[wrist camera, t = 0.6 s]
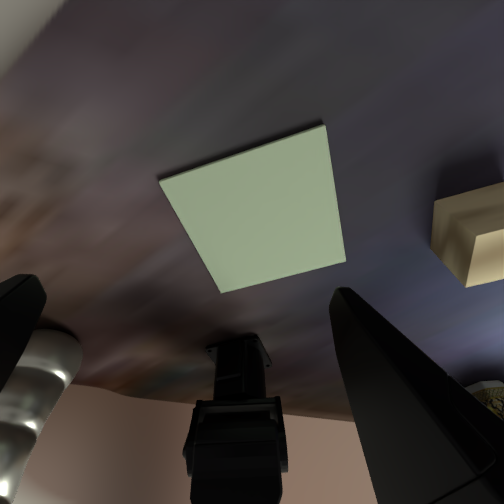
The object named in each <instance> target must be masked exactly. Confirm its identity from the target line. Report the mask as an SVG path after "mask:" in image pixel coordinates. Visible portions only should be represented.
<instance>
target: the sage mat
mask: <svg viewBox="0 0 504 504" xmlns="http://www.w3.org/2000/svg"><path fill="white" fill-rule="evenodd" d="M159 184H160V186H161V187H162V189H163V191H164V193H165V194H166V196H167V198H168V200H169V202H170V203H171V205H172V207H173V209H174V210H175V212H176V214H177V216H178V217H179V219H180V221H181V223H182V224H183V226H184V228H185V230H186V232H187V233H188V235H189V237H190V239H191V240H192V242H193V244H194V246H195V247H196V249H197V251H198V253H199V255H200V256H201V258H202V260H203V262H204V263H205V265H206V267H207V269H208V270H209V272H210V274H211V276H212V278H213V279H214V281H215V283H216V285H217V286H218V288H219V290H220V292H221V293H224V292H228V291H232V290H236V289H240V288H244V287H248V286H251V285H255V284H259V283H263V282H267V281H271V280H275V279H279V278H283V277H286V276H290V275H294V274H298V273H302V272H306V271H310V270H314V269H318V268H321V267H325V266H329V265H333V264H337V263H341V262H345V261H346V258H345V252H344V245H343V238H342V232H341V225H340V219H339V212H338V205H337V199H336V192H335V186H334V179H333V173H332V166H331V159H330V153H329V146H328V140H327V133H326V127H325V125H324V124H322V125H319V126H316V127H313V128H310V129H308V130H305V131H302V132H299V133H296V134H293V135H290V136H287V137H284V138H281V139H278V140H275V141H273V142H270V143H267V144H264V145H261V146H258V147H255V148H252V149H249V150H246V151H243V152H240V153H237V154H235V155H232V156H229V157H226V158H223V159H220V160H217V161H214V162H211V163H208V164H205V165H202V166H199V167H197V168H194V169H191V170H188V171H185V172H182V173H179V174H176V175H173V176H170V177H167V178H164V179H161V180H160V181H159Z"/></svg>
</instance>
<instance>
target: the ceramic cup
mask: <svg viewBox="0 0 504 504" xmlns="http://www.w3.org/2000/svg"><path fill="white" fill-rule="evenodd" d="M465 389H466V390H467V391H468V392H470V393H471V394H472V395H473V396H474V397H476V398H477V399H478V400H479V401H480V402H481V403H483V404H484V405H485V406H486V407H487V408H489V409H490V410H491V411H492V412H494V413H495V414H496V415H497V416H499V417H500V418H501V419H502V420H504V384H503V383H502V382H501V381H499V380H495V381H480V382H478V383H475V384H473V385H470V386H468V387H465Z"/></svg>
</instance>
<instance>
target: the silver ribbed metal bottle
mask: <svg viewBox="0 0 504 504" xmlns="http://www.w3.org/2000/svg"><path fill="white" fill-rule="evenodd" d="M82 358H83V351H82V347H81V344H80V343H79V342H78V341H77V340H76V339H75V338H74V337H72V336H70V335H69V334H66V333H64V332H61V331H58V330H53V329H37V330H34V331H33V333H32V335H31V338H30V340H29V342H28V344H27V346H26V348H25V350H24V352H23V354H22V356H21V358H20V360H19V361H18V363H17V365H16V367H15V368H14V370H13V372H12V374H11V375H10V377H9V379H8V381H7V382H6V384H5V386H4V388H3V389H2V391H1V393H0V504H11V503H12V502H13V501H14V498H15V495H16V492H17V489H18V487H19V484H20V481H21V478H22V476H23V473H24V470H25V467H26V464H27V462H28V459H29V457H30V455H31V452H32V450H33V448H34V446H35V443H36V439H37V437H38V436H39V435H40V432H41V430H42V428H43V426H44V424H45V422H46V420H47V418H48V417H49V415H50V413H51V412H52V410H53V408H54V407H55V405H56V403H57V402H58V400H59V398H60V396H61V395H62V393H63V391H64V390H65V389H66V388H67V387H68V385H69V384H70V383H71V381H72V380H73V378H74V377H75V375H76V373H77V372H78V370H79V368H80V365H81V361H82Z"/></svg>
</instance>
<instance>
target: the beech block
mask: <svg viewBox="0 0 504 504" xmlns="http://www.w3.org/2000/svg"><path fill="white" fill-rule="evenodd" d="M430 249H431V250H432V251H433V252H434V253H435V254H436V255H437V257H438V258H439V259H440V260H441V261H442V262H443V263H444V264H445V265H446V266H447V268H448V269H449V270H450V271H451V272H452V273H453V274H454V275H455V276H456V278H457V279H458V280H459V281H460V282H461V283H462V284H463V285H464V286H465V288H466V287H470V286H474V285H479V284H483V283H488V282H492V281H496V280H501V279H504V182H501V183H497V184H494V185H490V186H486V187H483V188H479V189H476V190H472V191H468V192H465V193H461V194H458V195H454V196H450V197H447V198H443V199H440V200H436V201H435V202H434V213H433V224H432V235H431V246H430Z"/></svg>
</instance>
